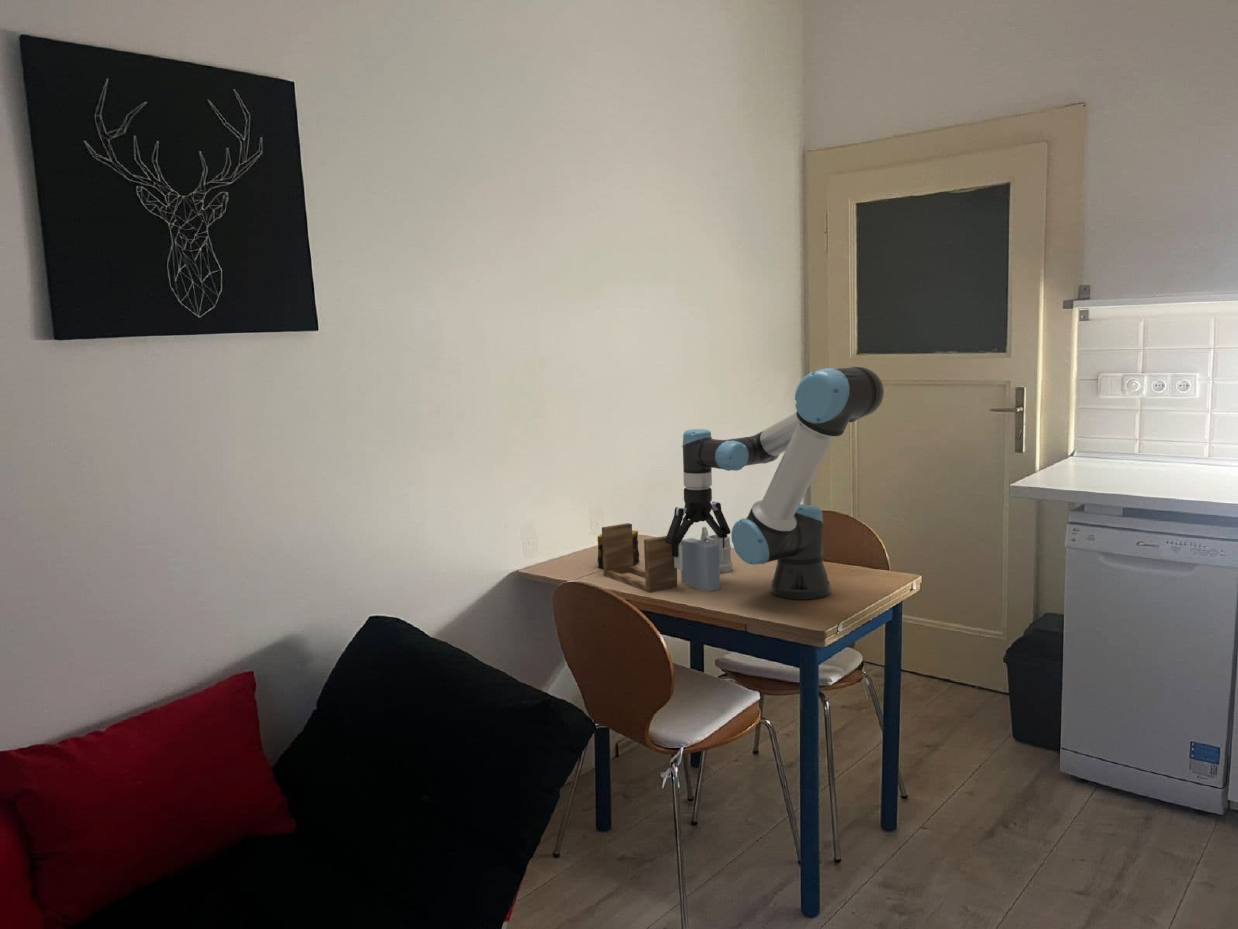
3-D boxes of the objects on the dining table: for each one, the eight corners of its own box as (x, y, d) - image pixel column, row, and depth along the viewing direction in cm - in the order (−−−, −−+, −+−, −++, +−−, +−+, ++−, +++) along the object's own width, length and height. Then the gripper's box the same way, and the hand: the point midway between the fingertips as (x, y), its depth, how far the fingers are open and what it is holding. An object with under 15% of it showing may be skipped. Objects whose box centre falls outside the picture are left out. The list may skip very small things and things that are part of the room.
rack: (677, 586, 250) (675, 536, 248) (649, 592, 245) (648, 540, 243) (630, 570, 270) (628, 523, 268) (603, 575, 265) (601, 527, 264)
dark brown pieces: (608, 561, 283) (607, 529, 281) (640, 562, 279) (639, 530, 278) (597, 569, 273) (595, 536, 272) (629, 570, 270) (628, 537, 268)
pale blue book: (719, 589, 246) (718, 545, 244) (708, 591, 244) (706, 547, 242) (693, 580, 256) (692, 537, 255) (681, 582, 254) (680, 540, 253)
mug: (719, 575, 261) (718, 533, 259) (690, 568, 270) (689, 527, 268) (738, 570, 265) (737, 529, 264) (709, 563, 274) (708, 523, 273)
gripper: (725, 480, 256) (726, 554, 259) (651, 490, 243) (652, 568, 246) (742, 483, 250) (743, 560, 253) (667, 494, 237) (669, 574, 240)
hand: (698, 564), depth 250 cm, fingers open, 13 cm apart
